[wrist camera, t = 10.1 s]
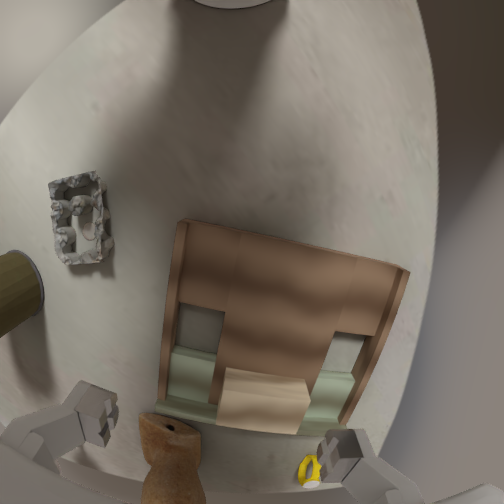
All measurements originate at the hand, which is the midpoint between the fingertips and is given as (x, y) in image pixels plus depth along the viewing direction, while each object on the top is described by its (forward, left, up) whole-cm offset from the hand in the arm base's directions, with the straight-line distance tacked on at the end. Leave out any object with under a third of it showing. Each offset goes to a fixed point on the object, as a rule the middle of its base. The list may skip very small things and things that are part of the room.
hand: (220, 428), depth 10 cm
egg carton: (-2, -20, -25) cm, 32 cm away
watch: (+32, +18, -25) cm, 45 cm away
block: (+16, +6, -23) cm, 28 cm away
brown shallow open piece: (+8, +6, -25) cm, 27 cm away
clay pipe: (+32, -4, -25) cm, 41 cm away
